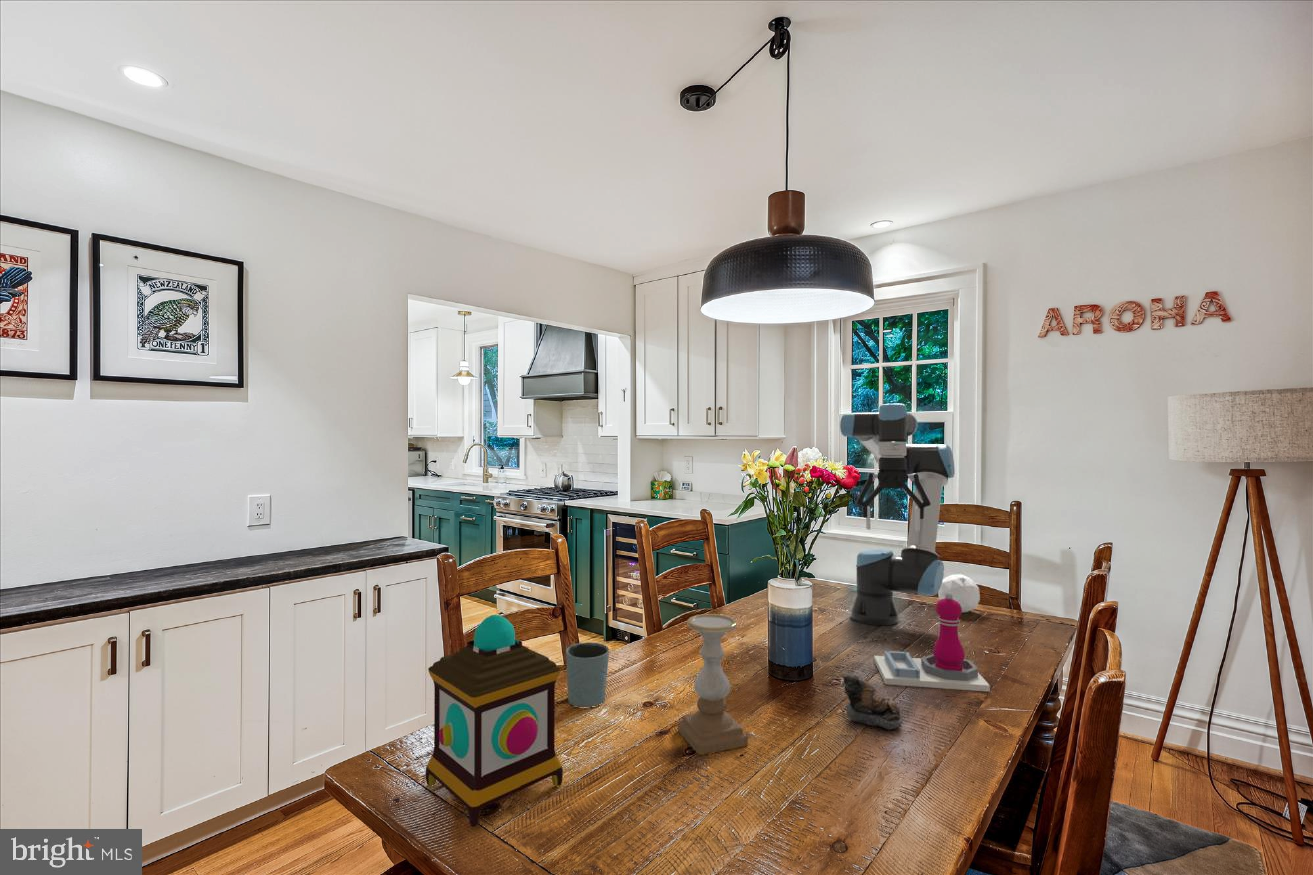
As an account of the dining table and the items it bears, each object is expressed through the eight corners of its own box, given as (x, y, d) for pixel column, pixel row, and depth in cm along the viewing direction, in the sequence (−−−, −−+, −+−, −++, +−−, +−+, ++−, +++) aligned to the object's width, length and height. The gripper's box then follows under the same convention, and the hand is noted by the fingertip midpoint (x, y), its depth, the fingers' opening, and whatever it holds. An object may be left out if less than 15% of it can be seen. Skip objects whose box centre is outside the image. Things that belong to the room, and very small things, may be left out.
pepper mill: (957, 666, 157) (957, 589, 158) (969, 676, 150) (969, 596, 150) (929, 664, 158) (929, 589, 158) (939, 675, 151) (939, 596, 151)
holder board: (874, 660, 165) (874, 648, 165) (968, 667, 161) (968, 654, 161) (885, 684, 149) (885, 670, 149) (989, 691, 145) (989, 677, 145)
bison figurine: (902, 722, 129) (902, 675, 129) (903, 737, 123) (903, 688, 123) (843, 713, 133) (843, 668, 133) (842, 728, 127) (842, 680, 127)
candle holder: (676, 730, 125) (676, 616, 125) (723, 721, 129) (723, 610, 129) (698, 756, 115) (698, 631, 115) (749, 746, 119) (749, 625, 119)
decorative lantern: (414, 785, 105) (414, 614, 105) (513, 745, 119) (514, 594, 119) (468, 839, 91) (469, 641, 91) (574, 786, 105) (574, 615, 105)
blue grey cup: (583, 688, 146) (583, 639, 146) (617, 697, 141) (618, 646, 141) (556, 704, 138) (556, 652, 138) (591, 714, 132) (591, 660, 133)
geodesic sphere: (996, 602, 204) (980, 565, 212) (959, 603, 202) (944, 566, 210) (974, 618, 215) (959, 582, 223) (939, 619, 213) (925, 583, 222)
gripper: (849, 456, 173) (849, 530, 173) (942, 457, 169) (942, 532, 169) (846, 456, 181) (846, 526, 181) (934, 456, 176) (934, 528, 176)
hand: (892, 529), depth 175 cm, fingers open, 13 cm apart
